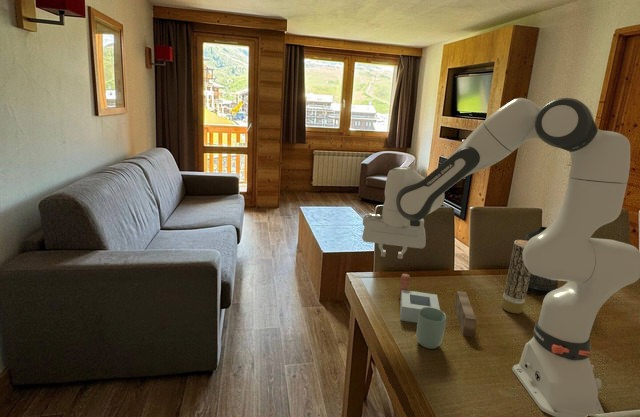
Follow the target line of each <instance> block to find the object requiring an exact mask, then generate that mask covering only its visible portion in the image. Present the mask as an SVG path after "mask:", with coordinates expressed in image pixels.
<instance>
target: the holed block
mask: <svg viewBox="0 0 640 417" xmlns="http://www.w3.org/2000/svg"><path fill="white" fill-rule="evenodd" d="M399 300H400V303H399V304H400V305H399V306H400V308H399V311H400V312H399V314H400V318H399V319H400V321H404V322H409V323H410V322H411V323H415V324H417V321H418V314H419V311H420V309H422V308H424V307H431V308H436V309H438V310H441V307H440V303H439V298H438V294H434V293H428V292H420V291H413V290H408V291H407V290H402V292H401V299H399Z"/></svg>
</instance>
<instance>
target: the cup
mask: <svg viewBox="0 0 640 417" xmlns="http://www.w3.org/2000/svg"><path fill="white" fill-rule="evenodd" d="M446 325H447V314H446V313H445V312H444V311H443V310H441V309H440V310H438V309H436V308H431V307H424V308H422V309H420V311H419V314H418V321H417V323H416V329H415V330H416V333H415V335H416V340H417V342H418V343H419V345H421V346H422V347H424V348H425V349H430V350H433V349H437V348H439V347H440V345H441V344H442V342H443V340H444V335H445V330H446Z"/></svg>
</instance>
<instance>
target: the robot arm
mask: <svg viewBox="0 0 640 417" xmlns="http://www.w3.org/2000/svg"><path fill="white" fill-rule="evenodd" d="M533 139H540V140H541V141H542V142H544V143H546V144H547V145H548V146H551V147H554V148H557V149H561V150H565V151H567V152H569V154H570V157H571V162H570V163H571V164H570V170H569V174H568V181H567V185H566V189H565V193H564V197H563V202H562V205H561V208H560V210H559V212H558V214H557V216H556V217H555V218H554V220H553V221H552V222H551V223H550V225H549V226H546V227H547V228H546V229H545V230H544V231H543V232H541V233H540V234H538V235H536V236H534V237H532V238H531V239H530V240H529V241H528V242H527V243H526V245H525V247H524V249H523V262H524V264H525V266H526V268H527V270H528V271H529V272H530V273H531V274H533V275H536V276H539V277H543V278H547V279H550V280H557V281H561V282H566V283H565V284H563V285H562V286H560V287H557V289H555V290H553V291H551V292H549V293H548V294H547V295H544V298H543V301H542V305H541V308H540V313H539V316H538V320H537V321H535V325H534V328H533V337H532V338H531V339H529V341H527V342H526V343H525V345H524V348H523V349H522V350H523V351H522V353H521V357H520V360H519V363H516V364H514V365H513V366H512V372H513V373H514V375H515V376H516V378H517V379H518V380H519V382H520V383H521V385H523V388H524V389H525V390H526V392H527V393H528V394H529V396H530V397H531V399H532V400H533V401H534V403H535V404H536V405H537V407H538V408H539V409H540V410H541V411H542V412H544V413H546V414H548V415H550V416H552V417H585V416H586V415H589V414H598V413H604V414H605V412H604V409H603V407H602V404H601V402H600V399H599V398H598V397H599V391H598V390H601V388H602V384H603V383H602V380H601V379H600V378H597V377H595V374H594V370H595V365H594V364H591V359H590V358H589V357H590V356H591V353H592V351H591V348H592V347H591V345H592V344H591V337H590V336H591V335H590V334H591V332H592V329H593V326H594V323H595V320H596V317H597V314H598V313H599V311H600V309H601V308H602V307H603V305H604V304H605V303H606V302H607V301H608V299H610V298H611V297H612V296H613V295H614V294H615V293H616V292H618V291H619V290H621V289H623V288H624V287H627V286H630V285H632V284H634V283H635V282H637V281H638V280H639V279H640V251H639V249H638V247H636V246H634V245H633V244H632V245H631V244H630V243H626V242H622V241H618V240H614V239H608V238H597V237H592V236H593V234H595V232H596V231H597V230H598V229H599V228H600V227H603V226H605V225H608V224H611V223H613V222H614V221H616V219H617V218H619V216H620V215H621V212H622V210H623V204H624V200H625V195H626V191H627V187H628V181H629V176H630V170H631V143H630V140H629V139H628V137H626V136H625V135H623V134H621V133H619V132H616V131H612V130H611V131H610V130H601V129H599V128H598V126H597V124H596V123H595V118H594V115H593V112H592V110H591V109H590V107H588V105H586V104H585V103H584V102H582V101H581V100H579V99H576V98H573V97H560V98H557V99H554V100H551V101H549V102H548V103H546V104H545V105H544V106H542V107H541V106H538V105H537V103H535V102H534V101H532V100H530V99H528V98H524V97H518V98H517V97H516V98H514V99H513V100H511V101H509V102H506V104H504V105H503V106H501V107H500V108H498V109H497V110H496V111H494V112H493V113H492V114H490V115H489V116H488V117H487V118H485V120H483V121H482V122H481V123H480V124H478V125H477V127H476V128H474V130H472V132H470V134H469V135H468V136H467V137H466V139H465V140H464V141H463V142H462V143H461V144H460V145H459V147H458V148H456V149H455V151H454V152H453V153H452V154H451V155H450V156H449V158H447V159H446V160H445V161H443V163H442V164H440V165H439V166H437V167H436V168H435V169H434V170H433V171H432V172H431V173H429V174H428V175H427V176H426V177H424V176H423V175H421V174H420V173H418V172H417V170H415V168H414V167H412V166H399V167H394V168H392V169H390V170H388V173H387V176H386V181H385V187H384V203H383V205H382V214H373V213H368V214H366V215H364V216H363V219H362V225H363V230H362V237H361V239H362V240H363V242H364V243H372V244H373V243H374V244H378V246H377V247H378V248H379V251H380V257H386V253H387V252H386V249H384V248H383V247H384V245H388V246H396V247H397V246H399V247H402V249H401V251H398V252H397V253H398V254H397V259H401V260H402V259H403V257H404V254H405V253H406V252H407V250H408V248H414V249H424V248H425V247H426V244H427V243H426V242H427V241H426V240H427V236H426V229H425V219H424V218H426V217H427V216H428V215H429V214H431V213H433V212H435V211H436V210H438V209H439V208H441V207H442V206H443V204H444V202H445V200H446V199H445V198H446V193H445V192H446V191H448V190H449V189H450V188H452V187H453V186H454V185H455V184H457V183H458V182H460V181H461V180H463V179H464V178H466V177H467V176H470V175H472V174H474V173H477V172H479V171H483V170H485V169H487V168H490V167H492V166H493V165H495V164H497V163H499V162H500V161H502V160H504V159H505V158H507V157H508V156H510V154H512V153H513V152H514V151H516V150H517V149H518V148H519V147H521V146H522V145H523V144H525V143H526V142H528V141H530V140H533Z"/></svg>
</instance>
